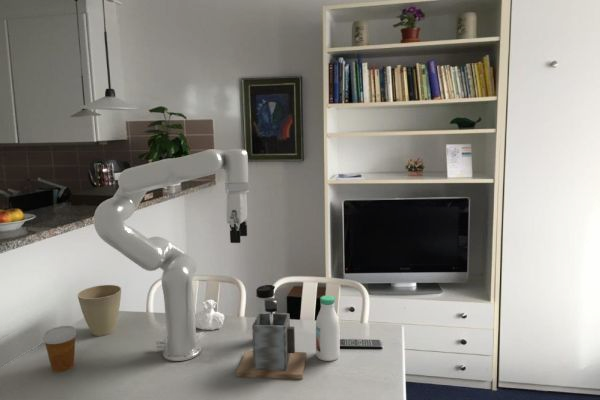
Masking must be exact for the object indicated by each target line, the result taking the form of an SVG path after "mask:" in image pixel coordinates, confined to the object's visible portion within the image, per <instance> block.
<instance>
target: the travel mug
mask: <svg viewBox="0 0 600 400" xmlns="http://www.w3.org/2000/svg"><path fill="white" fill-rule="evenodd" d="M275 288H276V287H275V285H273V284H264V285H261V286H259V287H257V288H256V290H255V291H256V292H255V293H256V295H255V297H256V316H257V315H258V313H270V312H266V311H265V303H264V300H265V299H268V298H275ZM273 313H276V311H275V312H273Z"/></svg>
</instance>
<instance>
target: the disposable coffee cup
mask: <svg viewBox="0 0 600 400" xmlns="http://www.w3.org/2000/svg"><path fill="white" fill-rule="evenodd" d="M77 334H78V333H77V330H76V329H75V327H74V326H71V325H61V326H57V327H53V328H51V329H47V330H46V331H45V332H44V333H43V336H42V341H43V342H44V343H45V344H44V345H45V348H46V352H47V356H48V359H49V363H50V367H51V370H52V371H53V372H54V373H59V372H61V373H62V372H66V371H68V370H70V369H72V368H73V367H74V366H75V350H76V349H75V348H76V335H77Z"/></svg>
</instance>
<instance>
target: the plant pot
mask: <svg viewBox="0 0 600 400" xmlns="http://www.w3.org/2000/svg"><path fill="white" fill-rule="evenodd" d="M77 298H78V302H79V306H80V310H81V313H82V314H83V317H84V321H85V322H86V324H87V327H88V328H89V330H90V332H91V334H92V335H93V336H96V337H104V336H108V335H109V334H112V333H113V332H114V331H115V328H116V325H117V321H118V317H119V311H120V307H121V299H122V287H121V286H119V285H115V284H102V285H94V286H90V287H87V288H85V289H82V290H80V291H79V292H78V293H77Z"/></svg>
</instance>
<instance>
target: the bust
mask: <svg viewBox="0 0 600 400" xmlns="http://www.w3.org/2000/svg"><path fill="white" fill-rule="evenodd" d="M217 303H218V302H216V301H215V300H214V299H207V300H205V301H203V302H201V304H202V306H203V308H204V311H200V312H198V313H195V326H196V328H197V329H200V330H202V331H204V330H206V331H208V330H209V331H210V330H211V331H214V330H218V329H221V328H222V327H223V324H224V322H225V315H224V314H223V313H222V312H221V313H220V311H215V310H214V308H216V305H217Z"/></svg>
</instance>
